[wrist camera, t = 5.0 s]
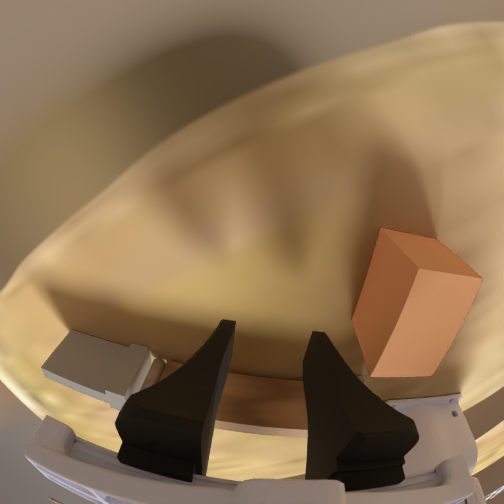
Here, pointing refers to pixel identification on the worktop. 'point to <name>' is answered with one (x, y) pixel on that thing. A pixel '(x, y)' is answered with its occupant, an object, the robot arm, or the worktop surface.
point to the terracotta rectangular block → (411, 304)
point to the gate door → (251, 403)
